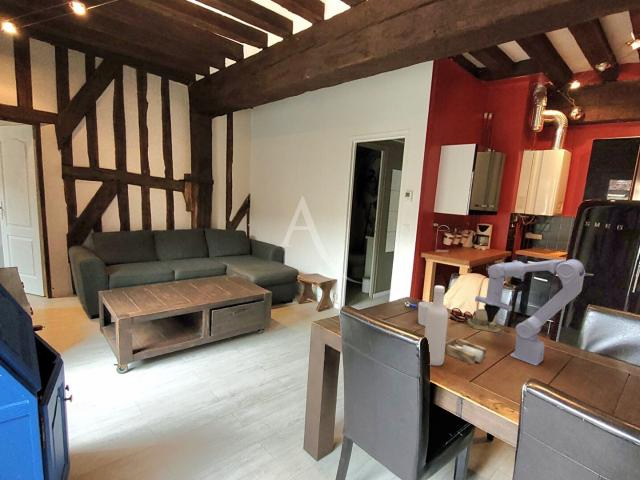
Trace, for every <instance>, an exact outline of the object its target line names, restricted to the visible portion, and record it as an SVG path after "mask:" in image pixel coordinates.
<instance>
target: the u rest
mask: <svg viewBox="0 0 640 480" xmlns="http://www.w3.org/2000/svg"><path fill="white" fill-rule="evenodd" d="M455 344H456V345H457V346H460V347H463V345H466V346H469V347H472V348H475V349H478V350H481V351H483V358H485V357H486V353H487V348H486V347H483V346H480V345H479V344H476V343H472V342H469V341H467V340H464V339H462V338H459V339H458V340H457V338H456V337H451V338H449V339H446V343H445V355H449V356H451V357H454V358H456V359H459V360H460V361H463V362H465V363H467V364H470V365H472V366H473V365H475V363H476V361H475V355H473V354H471V353H468V352H466V351H464V350H461V349H459V348H456V347H454V345H455Z"/></svg>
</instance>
